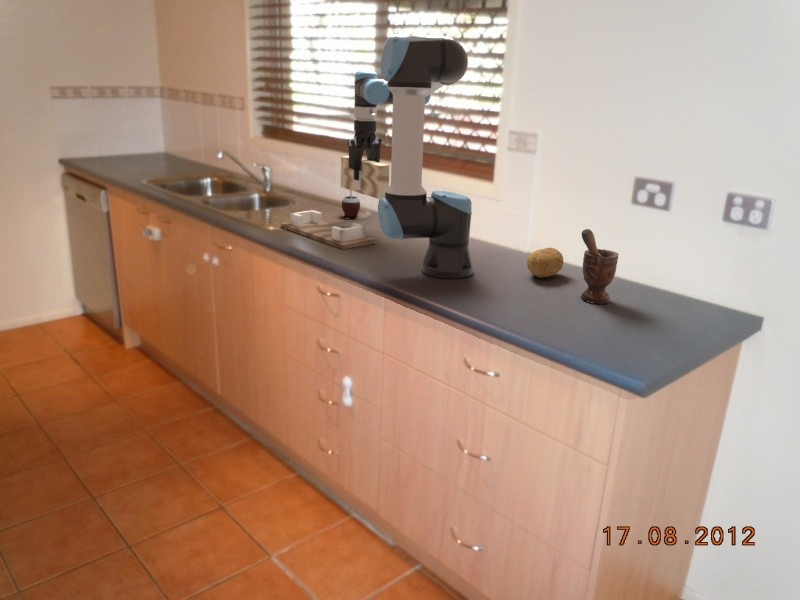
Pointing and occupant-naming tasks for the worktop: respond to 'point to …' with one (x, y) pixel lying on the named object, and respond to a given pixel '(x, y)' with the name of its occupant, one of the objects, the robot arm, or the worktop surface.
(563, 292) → the worktop surface
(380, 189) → the slat
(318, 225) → the walnut board
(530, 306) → the worktop surface
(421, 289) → the worktop surface
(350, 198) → the mate gourd
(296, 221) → the end caps
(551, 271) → the potato
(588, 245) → the mortar and pestle
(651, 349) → the worktop surface
